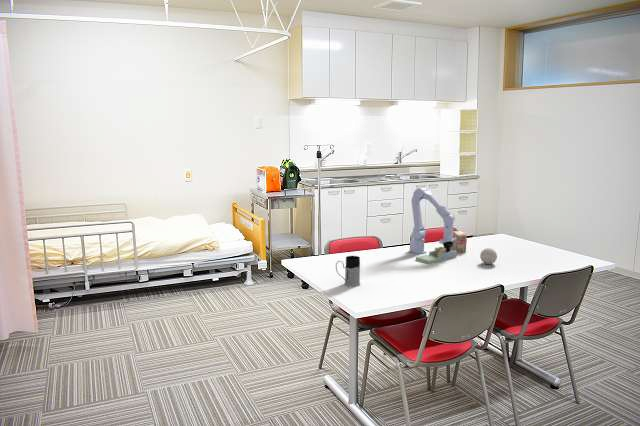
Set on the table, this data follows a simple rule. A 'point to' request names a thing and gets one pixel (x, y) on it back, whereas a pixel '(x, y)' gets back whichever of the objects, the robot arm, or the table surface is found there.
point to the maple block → (439, 250)
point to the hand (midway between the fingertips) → (447, 252)
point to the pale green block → (436, 257)
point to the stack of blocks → (459, 241)
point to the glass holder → (351, 271)
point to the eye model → (488, 256)
